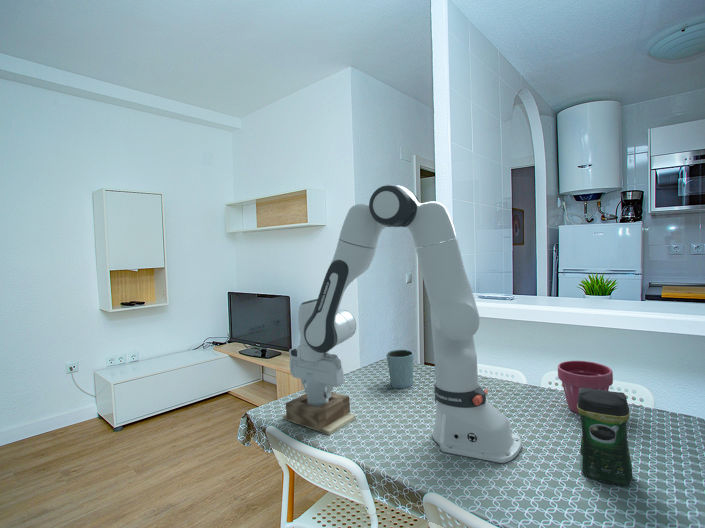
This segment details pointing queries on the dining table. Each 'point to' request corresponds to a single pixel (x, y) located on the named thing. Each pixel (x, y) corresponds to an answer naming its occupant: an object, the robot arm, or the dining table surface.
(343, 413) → the socket
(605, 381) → the plant pot
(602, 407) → the coffee jar
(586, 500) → the dining table surface
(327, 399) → the skincare box
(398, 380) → the blue-grey flower pot
